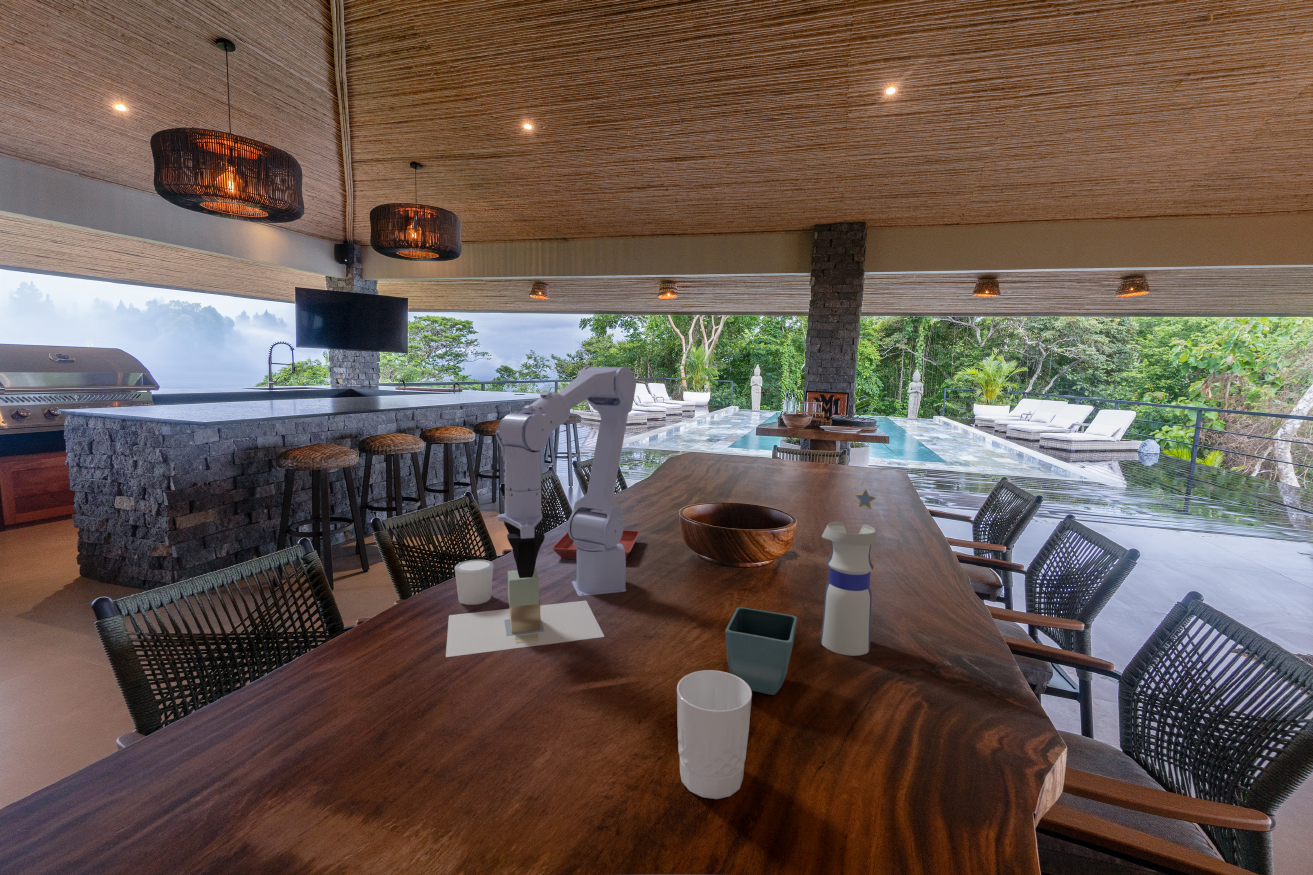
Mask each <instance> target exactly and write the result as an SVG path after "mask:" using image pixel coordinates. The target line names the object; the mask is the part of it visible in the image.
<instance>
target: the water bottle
mask: <svg viewBox="0 0 1313 875" xmlns="http://www.w3.org/2000/svg"><path fill="white" fill-rule="evenodd" d="M854 495H855V497H856V498H857V499H858V501H859V503H858V504H859V505H858V508H862V507H866V508H867V509H869V510H872V505H871V502H872V501H874V500H875V499H876V496H873V495H870V494H869V493H868V491H867V489H866V488H865V489H864V491H863V493H861V494H854ZM845 526H846V525H844V523H843V522H841V521H832V522H829V523H828V524H826V527H825V529H824V531H823V533H822V534H821V538H823V539H826V540H829V541H830V542H831V553H830V556H829V558H828V559H827V561H826V563H827V565H828V567H829V568H828V581H827V583H826V586H825V589H824V590H825V591H824V601H823V611H822V612H823V613H822V614H823V615H822V624H821V632H820V644H821V645H822V646H823V647H824V648H825V649H827V650H829V651H831V652H833V653H836V654H838V655H839V654H840V655H844V656H851V657H852V656H854V657H855V656H856V657H857V656H858V657H859V656H863V655H866V654H868V653H869V652H870V651H871V627H872V626H871V624H872V623H871V621H872V620H871V619H872V602H873V601H872V600H873V597H872V590H871V587H870V584H871V571H873V570H874V565H873V563H872V561H871V548H872V545H879V544H880V543H879V540H878V536H877V531H876V529H875V528H874V527H873V526H871V525H868V524H863V525H862V526H861V528H860V529H859V533H849V532H847V531H846V530H847V529H846V527H845Z"/></svg>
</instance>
